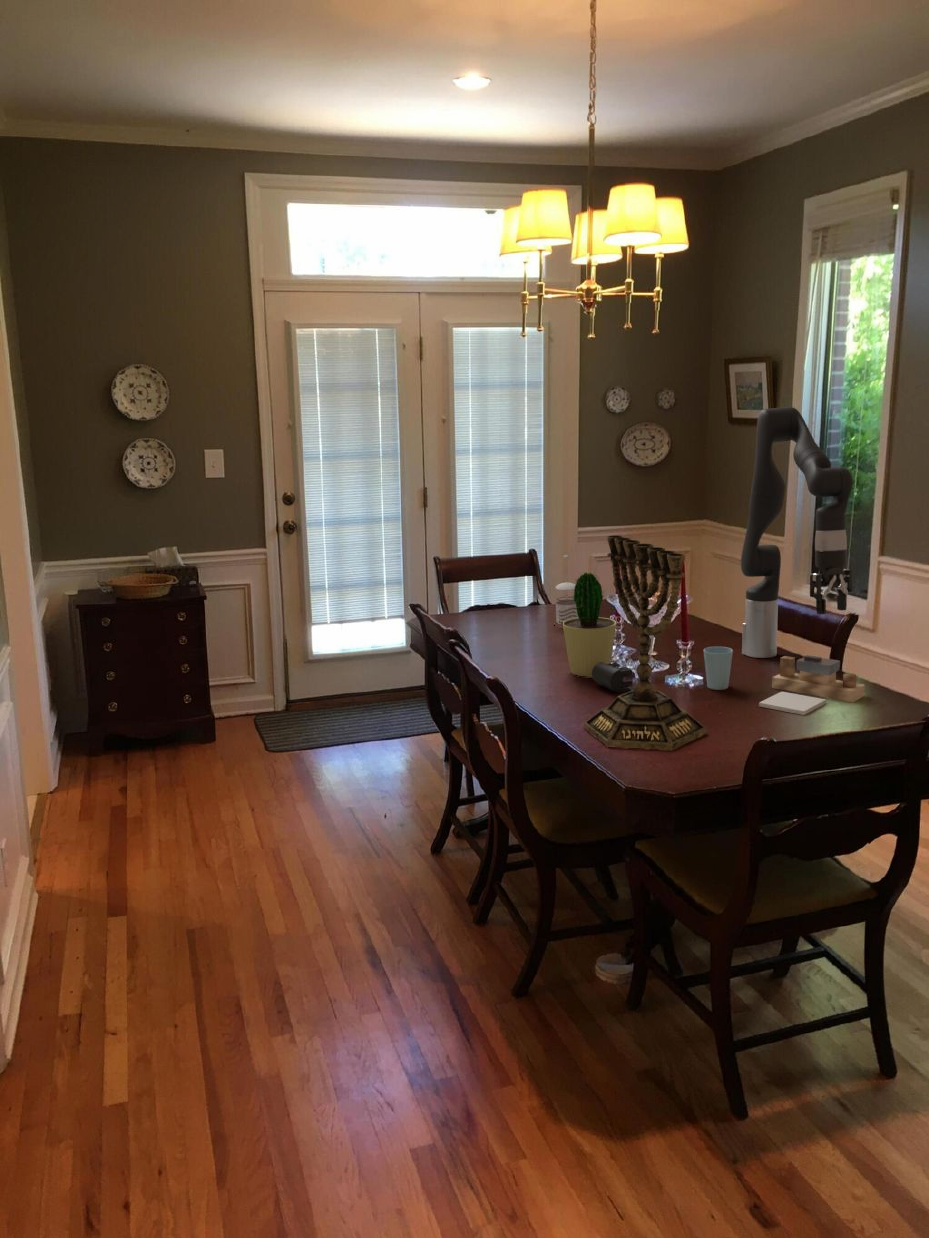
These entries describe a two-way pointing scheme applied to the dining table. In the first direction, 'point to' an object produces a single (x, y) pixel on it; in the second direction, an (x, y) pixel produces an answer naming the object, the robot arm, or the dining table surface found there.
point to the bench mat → (792, 703)
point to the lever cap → (818, 665)
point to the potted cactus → (588, 628)
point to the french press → (565, 601)
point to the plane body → (816, 683)
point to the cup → (718, 667)
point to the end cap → (612, 677)
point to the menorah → (645, 654)
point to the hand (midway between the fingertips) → (831, 612)
